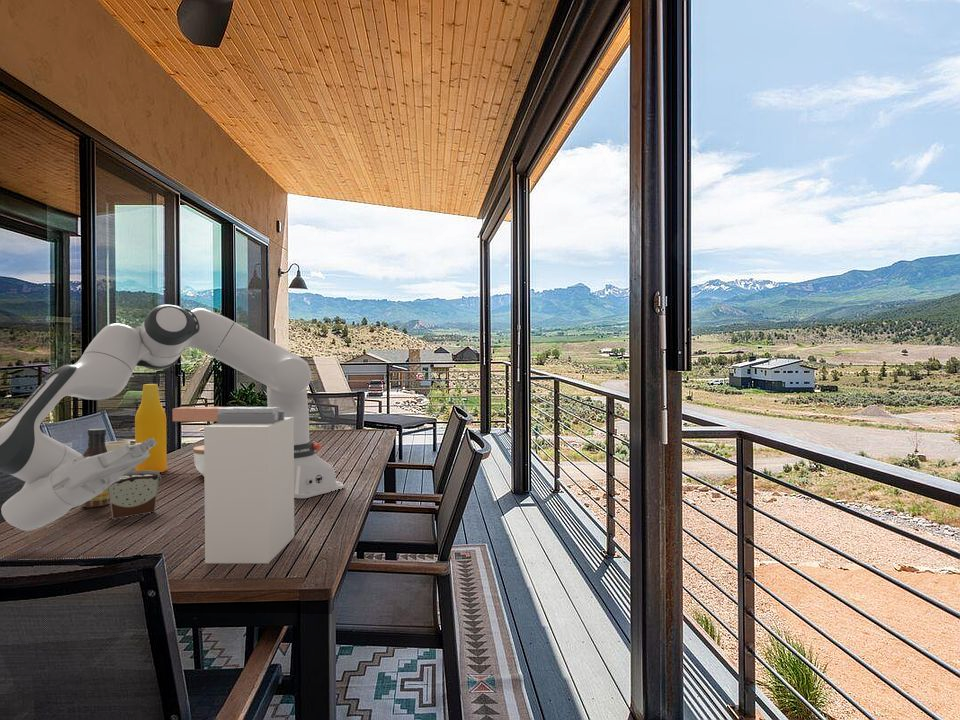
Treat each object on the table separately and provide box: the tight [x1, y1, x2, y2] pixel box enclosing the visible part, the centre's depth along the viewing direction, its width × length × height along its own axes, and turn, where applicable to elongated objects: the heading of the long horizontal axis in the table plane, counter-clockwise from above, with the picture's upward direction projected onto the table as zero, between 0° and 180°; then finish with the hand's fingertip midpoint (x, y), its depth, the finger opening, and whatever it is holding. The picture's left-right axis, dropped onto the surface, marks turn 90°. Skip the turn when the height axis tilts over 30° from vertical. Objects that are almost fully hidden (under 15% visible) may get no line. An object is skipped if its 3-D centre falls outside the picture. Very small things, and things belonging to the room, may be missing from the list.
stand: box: [203, 411, 295, 564], centre depth 122 cm, size 12×16×28 cm
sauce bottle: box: [81, 428, 110, 509], centre depth 157 cm, size 7×6×20 cm
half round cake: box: [108, 470, 162, 520], centre depth 149 cm, size 12×6×10 cm, turn 134°
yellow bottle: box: [134, 383, 168, 474], centre depth 200 cm, size 9×9×29 cm
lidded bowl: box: [192, 444, 204, 477], centre depth 195 cm, size 13×13×11 cm
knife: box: [171, 406, 280, 422], centre depth 122 cm, size 20×4×2 cm, turn 90°
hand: (141, 444), depth 122 cm, fingers open, 8 cm apart
